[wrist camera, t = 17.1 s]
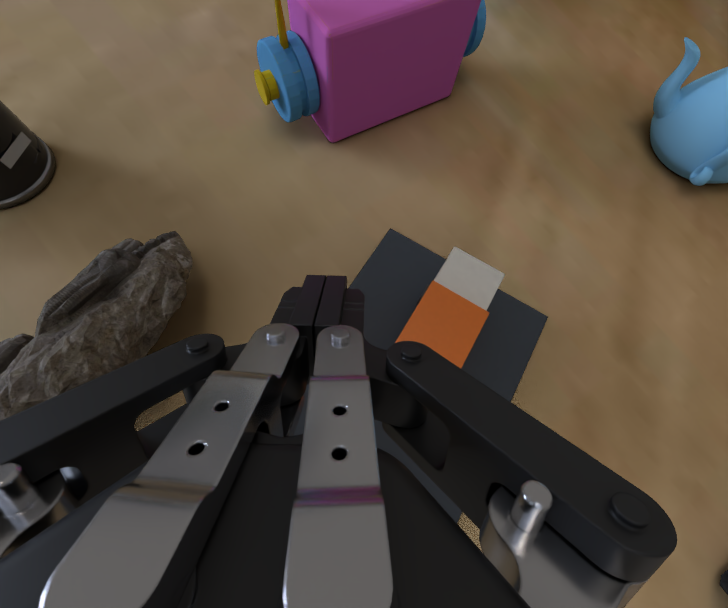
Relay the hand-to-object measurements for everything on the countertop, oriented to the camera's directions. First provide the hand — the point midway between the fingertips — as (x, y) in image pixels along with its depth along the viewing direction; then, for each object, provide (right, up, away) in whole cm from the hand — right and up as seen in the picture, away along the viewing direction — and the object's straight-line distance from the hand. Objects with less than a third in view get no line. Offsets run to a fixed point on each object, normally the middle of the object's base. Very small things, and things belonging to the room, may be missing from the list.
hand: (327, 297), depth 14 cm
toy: (+3, +26, +30) cm, 40 cm away
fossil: (-20, -5, +18) cm, 27 cm away
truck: (+4, -7, +13) cm, 16 cm away
